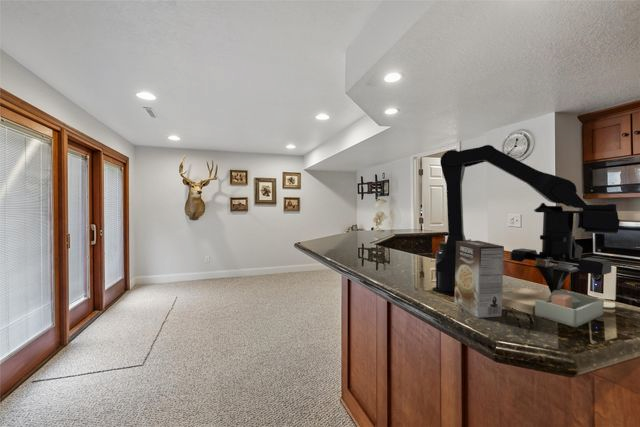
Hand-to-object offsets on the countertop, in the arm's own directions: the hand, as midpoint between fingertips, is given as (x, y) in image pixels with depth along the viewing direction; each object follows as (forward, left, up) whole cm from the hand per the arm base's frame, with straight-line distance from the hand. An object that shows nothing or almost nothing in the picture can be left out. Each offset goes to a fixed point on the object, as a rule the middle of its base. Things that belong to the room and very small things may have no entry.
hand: (554, 295), depth 73 cm
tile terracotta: (+2, -5, -1) cm, 6 cm away
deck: (-5, -3, -3) cm, 6 cm away
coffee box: (-8, -18, -3) cm, 20 cm away
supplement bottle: (-31, +1, -3) cm, 31 cm away
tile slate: (+2, -1, -2) cm, 2 cm away
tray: (+4, -3, -3) cm, 6 cm away
